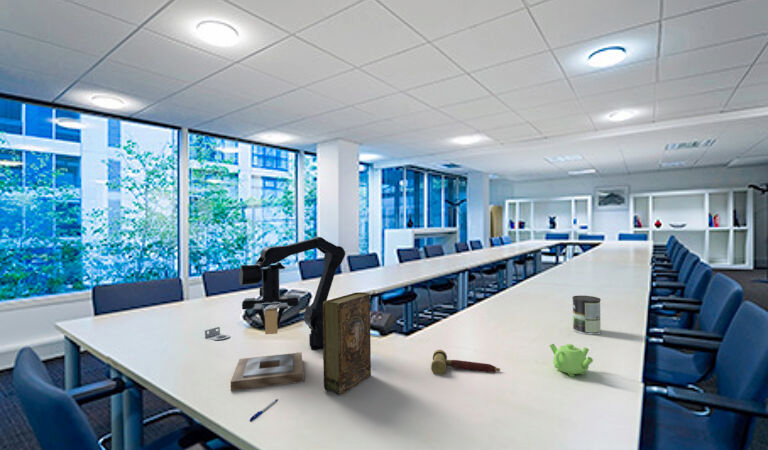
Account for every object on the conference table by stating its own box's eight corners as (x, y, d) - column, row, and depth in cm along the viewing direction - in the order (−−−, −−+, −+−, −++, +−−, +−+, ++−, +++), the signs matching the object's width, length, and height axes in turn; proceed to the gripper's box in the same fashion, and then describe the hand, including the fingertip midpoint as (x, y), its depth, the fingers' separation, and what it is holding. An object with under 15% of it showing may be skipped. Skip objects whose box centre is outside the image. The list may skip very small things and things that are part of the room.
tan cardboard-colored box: (277, 330, 128) (277, 308, 128) (277, 333, 124) (276, 310, 124) (266, 331, 127) (265, 308, 127) (265, 334, 123) (264, 311, 123)
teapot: (550, 376, 106) (550, 348, 106) (549, 362, 116) (549, 336, 116) (594, 382, 101) (593, 352, 101) (588, 367, 112) (588, 340, 112)
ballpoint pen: (252, 422, 83) (252, 418, 83) (249, 422, 84) (249, 417, 84) (277, 401, 93) (277, 397, 93) (275, 400, 94) (274, 397, 94)
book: (358, 371, 112) (357, 291, 112) (373, 374, 109) (372, 293, 109) (323, 392, 98) (322, 301, 98) (339, 397, 95) (337, 303, 95)
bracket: (218, 342, 143) (218, 334, 143) (204, 338, 149) (204, 330, 149) (233, 338, 149) (233, 329, 149) (219, 334, 154) (219, 326, 154)
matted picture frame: (301, 359, 122) (301, 351, 122) (303, 381, 105) (303, 371, 105) (239, 366, 117) (239, 357, 117) (230, 390, 100) (230, 379, 100)
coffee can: (571, 332, 148) (570, 298, 148) (574, 326, 156) (574, 294, 156) (600, 336, 142) (599, 301, 142) (602, 330, 150) (601, 296, 150)
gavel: (498, 356, 114) (502, 368, 104) (498, 370, 114) (501, 384, 104) (433, 348, 118) (431, 359, 109) (432, 362, 118) (430, 374, 109)
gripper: (297, 278, 136) (298, 318, 135) (245, 280, 131) (246, 322, 131) (298, 282, 125) (298, 326, 125) (241, 285, 120) (242, 331, 120)
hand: (271, 326), depth 125 cm, fingers closed on tan cardboard-colored box, 4 cm apart
